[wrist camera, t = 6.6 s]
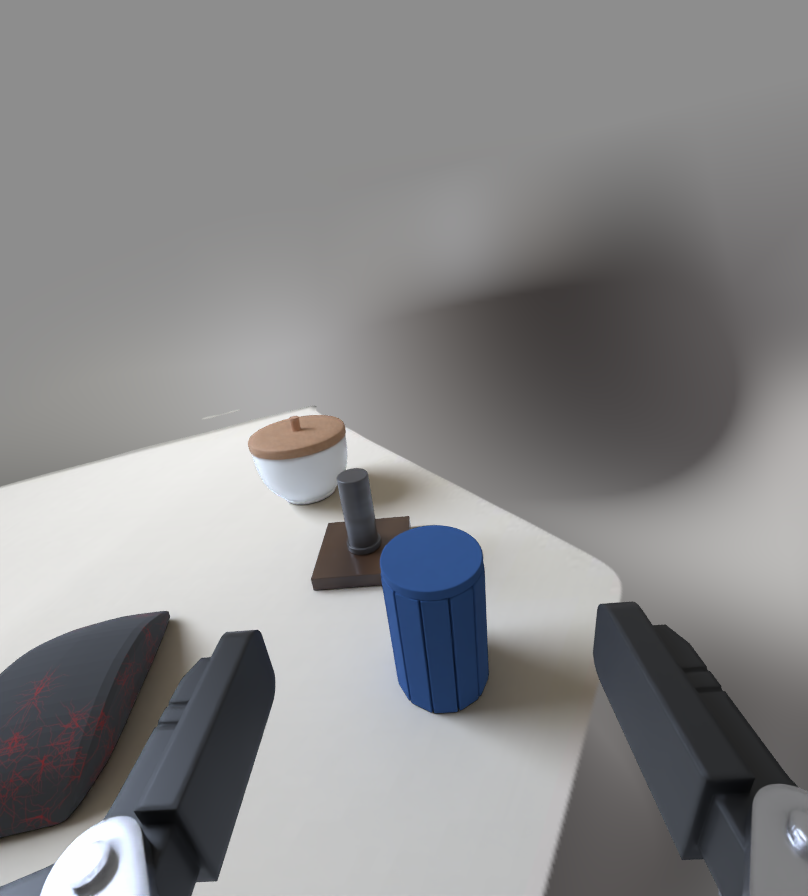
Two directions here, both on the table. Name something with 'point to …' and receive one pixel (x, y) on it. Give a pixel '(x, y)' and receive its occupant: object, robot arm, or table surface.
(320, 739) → the table surface
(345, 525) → the brown square base
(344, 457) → the trinket box
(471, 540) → the blue lidded canister
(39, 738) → the computer mouse
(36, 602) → the table surface
